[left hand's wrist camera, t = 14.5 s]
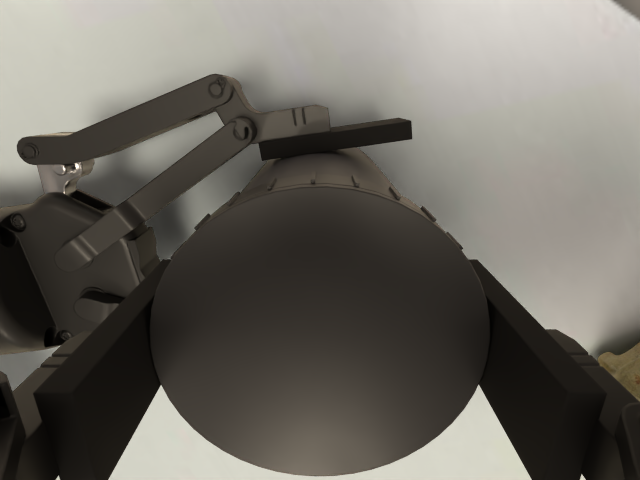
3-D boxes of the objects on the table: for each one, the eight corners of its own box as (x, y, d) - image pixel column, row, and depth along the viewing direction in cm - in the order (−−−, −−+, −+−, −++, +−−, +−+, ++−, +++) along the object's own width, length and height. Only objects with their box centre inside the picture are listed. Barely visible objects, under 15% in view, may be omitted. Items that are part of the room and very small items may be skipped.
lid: (201, 444, 14) (186, 488, 12) (133, 187, 11) (102, 202, 9) (465, 425, 14) (484, 467, 12) (477, 155, 10) (504, 165, 9)
